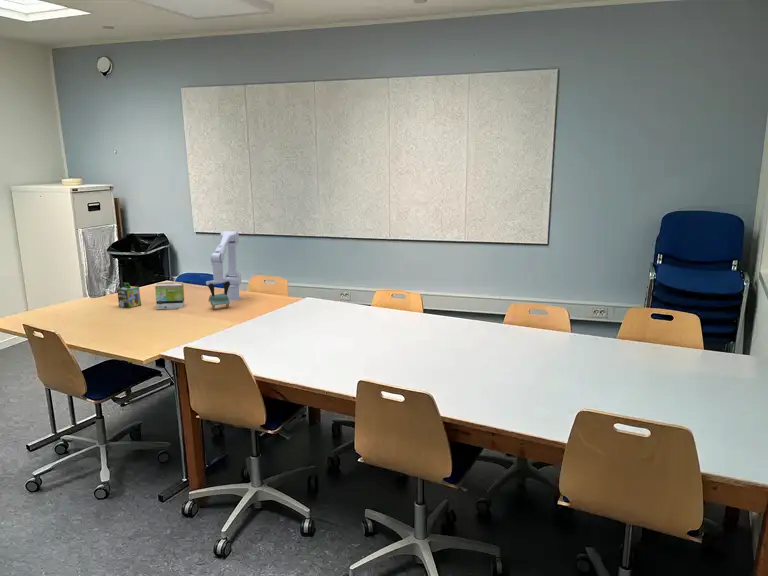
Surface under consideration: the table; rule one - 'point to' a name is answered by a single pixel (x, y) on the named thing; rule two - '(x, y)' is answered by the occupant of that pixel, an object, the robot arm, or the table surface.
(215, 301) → the footstool
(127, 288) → the chalk box
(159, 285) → the tea box
